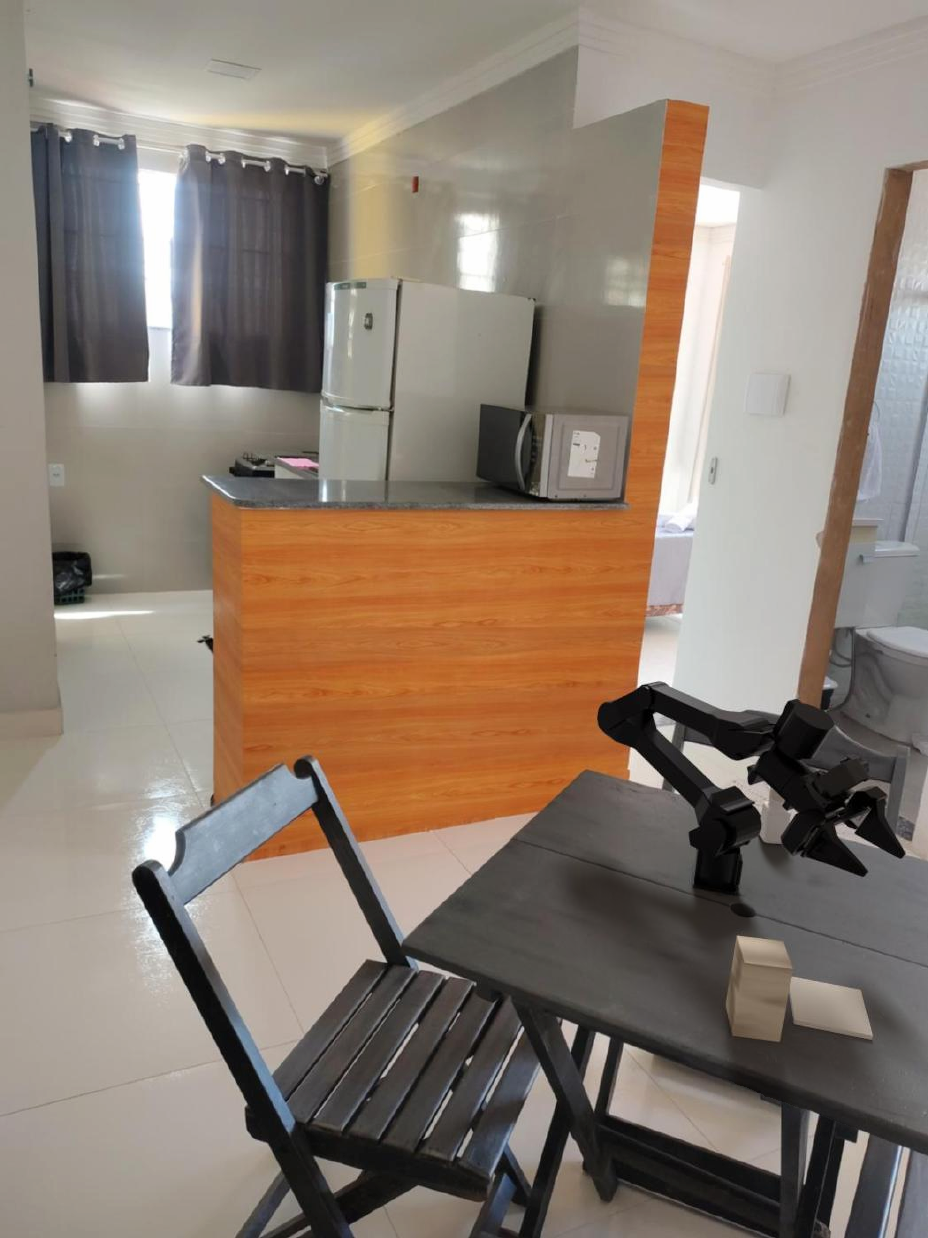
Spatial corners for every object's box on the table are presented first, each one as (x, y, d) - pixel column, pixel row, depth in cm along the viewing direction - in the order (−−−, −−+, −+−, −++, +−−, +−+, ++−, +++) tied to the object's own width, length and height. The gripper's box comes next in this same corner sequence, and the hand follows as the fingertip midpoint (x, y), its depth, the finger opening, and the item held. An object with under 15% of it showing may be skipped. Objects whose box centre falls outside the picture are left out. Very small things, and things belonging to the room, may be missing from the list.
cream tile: (793, 1024, 114) (794, 1019, 114) (787, 979, 123) (787, 975, 122) (872, 1040, 112) (872, 1036, 112) (859, 994, 121) (860, 990, 121)
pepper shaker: (787, 845, 159) (795, 794, 156) (763, 844, 159) (772, 793, 156) (779, 834, 163) (788, 784, 160) (756, 833, 163) (764, 782, 160)
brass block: (725, 1005, 117) (736, 935, 114) (770, 1011, 116) (782, 941, 114) (732, 1035, 111) (744, 962, 109) (779, 1042, 111) (793, 968, 108)
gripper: (782, 753, 122) (878, 840, 113) (860, 729, 133) (954, 806, 124) (745, 813, 128) (833, 900, 118) (823, 785, 139) (910, 862, 129)
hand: (885, 865), depth 122 cm, fingers open, 9 cm apart
